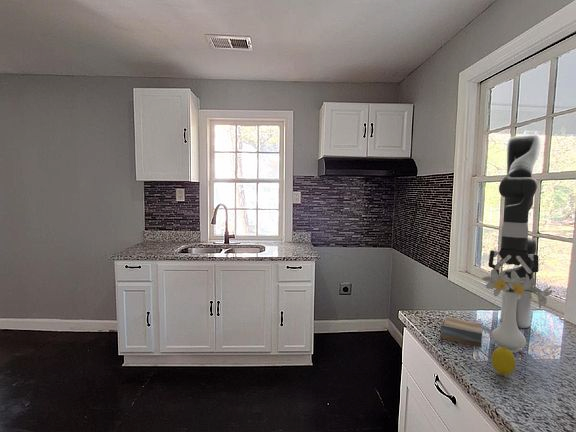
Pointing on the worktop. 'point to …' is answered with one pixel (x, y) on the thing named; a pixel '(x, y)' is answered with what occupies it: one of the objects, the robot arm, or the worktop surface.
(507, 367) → the lemon
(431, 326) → the worktop surface
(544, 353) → the worktop surface
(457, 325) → the stop board
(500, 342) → the flower vase
